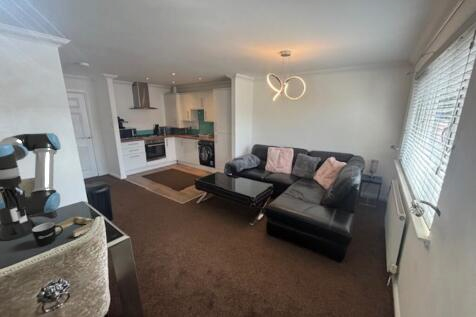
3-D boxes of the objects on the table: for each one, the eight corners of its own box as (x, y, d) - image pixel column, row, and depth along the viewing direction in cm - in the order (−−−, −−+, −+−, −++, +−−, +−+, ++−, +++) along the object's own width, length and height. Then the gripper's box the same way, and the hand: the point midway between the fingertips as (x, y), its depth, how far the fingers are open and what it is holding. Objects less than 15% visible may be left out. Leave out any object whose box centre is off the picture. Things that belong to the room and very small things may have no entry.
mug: (36, 250, 104) (32, 233, 102) (35, 243, 110) (31, 227, 108) (66, 239, 113) (62, 224, 111) (63, 233, 119) (59, 218, 117)
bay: (52, 233, 119) (50, 227, 119) (75, 221, 133) (74, 216, 132) (75, 238, 115) (74, 232, 114) (97, 225, 128) (96, 219, 127)
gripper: (-15, 177, 91) (-2, 222, 97) (10, 181, 87) (22, 227, 92) (7, 173, 99) (18, 215, 104) (31, 176, 94) (41, 219, 100)
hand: (20, 221), depth 98 cm, fingers open, 4 cm apart
